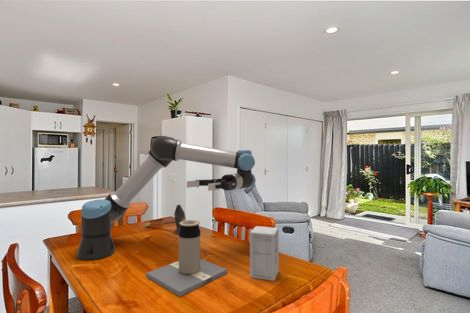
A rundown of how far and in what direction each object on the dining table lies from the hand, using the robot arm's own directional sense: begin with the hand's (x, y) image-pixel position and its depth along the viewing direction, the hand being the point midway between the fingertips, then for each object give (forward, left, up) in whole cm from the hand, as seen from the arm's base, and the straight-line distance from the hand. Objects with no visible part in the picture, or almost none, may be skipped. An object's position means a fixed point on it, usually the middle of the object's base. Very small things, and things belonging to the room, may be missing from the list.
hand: (197, 185), depth 110 cm
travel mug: (+7, -10, -31) cm, 33 cm away
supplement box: (+28, +9, -32) cm, 44 cm away
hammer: (-48, +17, -32) cm, 61 cm away
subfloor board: (+7, -11, -32) cm, 34 cm away
